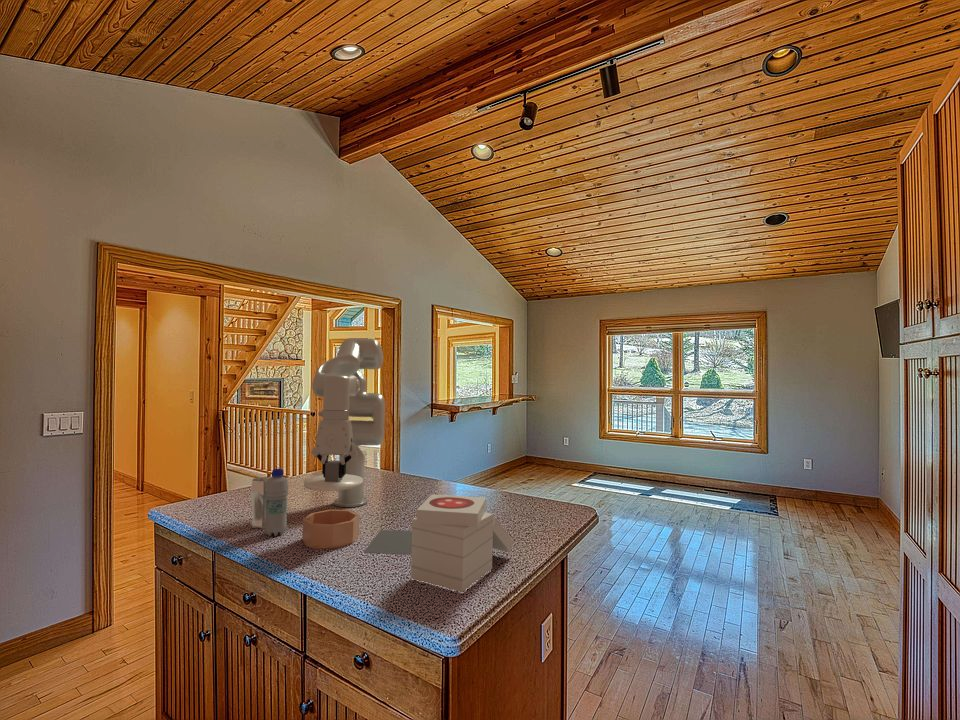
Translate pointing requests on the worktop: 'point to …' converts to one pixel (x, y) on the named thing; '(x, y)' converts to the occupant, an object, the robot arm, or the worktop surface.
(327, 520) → the bowl
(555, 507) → the worktop surface
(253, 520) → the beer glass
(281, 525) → the bottle
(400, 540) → the mat
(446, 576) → the pizza boxes
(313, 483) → the lid
